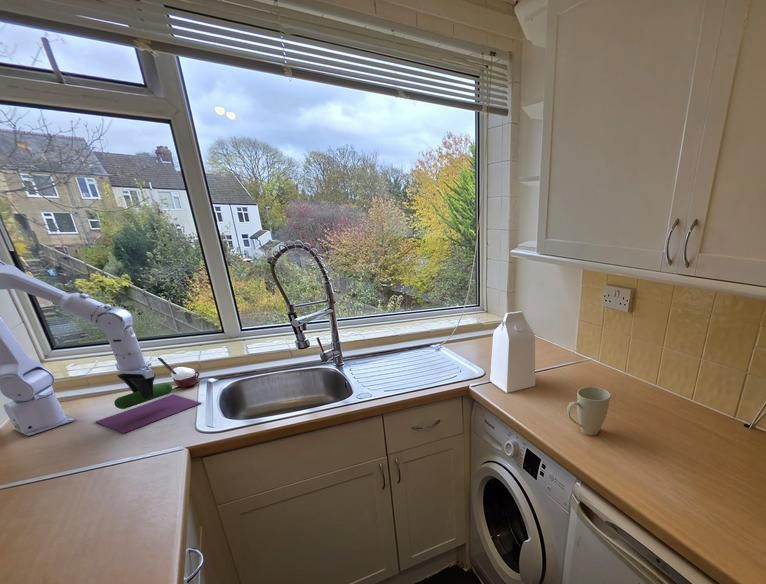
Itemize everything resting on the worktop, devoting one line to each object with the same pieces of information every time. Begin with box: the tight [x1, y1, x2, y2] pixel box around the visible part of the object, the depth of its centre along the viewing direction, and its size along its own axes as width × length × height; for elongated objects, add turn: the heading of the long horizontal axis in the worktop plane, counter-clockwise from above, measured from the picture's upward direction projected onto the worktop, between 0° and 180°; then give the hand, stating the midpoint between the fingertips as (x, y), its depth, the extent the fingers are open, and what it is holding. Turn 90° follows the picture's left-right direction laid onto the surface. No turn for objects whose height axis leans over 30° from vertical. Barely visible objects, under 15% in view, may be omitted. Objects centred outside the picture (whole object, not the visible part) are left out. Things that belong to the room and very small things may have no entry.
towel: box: [95, 394, 202, 434], centre depth 121 cm, size 20×14×1 cm
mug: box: [566, 386, 611, 436], centre depth 113 cm, size 11×10×12 cm
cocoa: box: [157, 357, 200, 389], centre depth 136 cm, size 10×6×12 cm, turn 136°
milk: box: [489, 310, 536, 394], centre depth 141 cm, size 12×12×26 cm
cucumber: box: [113, 382, 173, 410], centre depth 118 cm, size 14×4×4 cm, turn 156°
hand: (144, 396), depth 118 cm, fingers closed on cucumber, 3 cm apart
